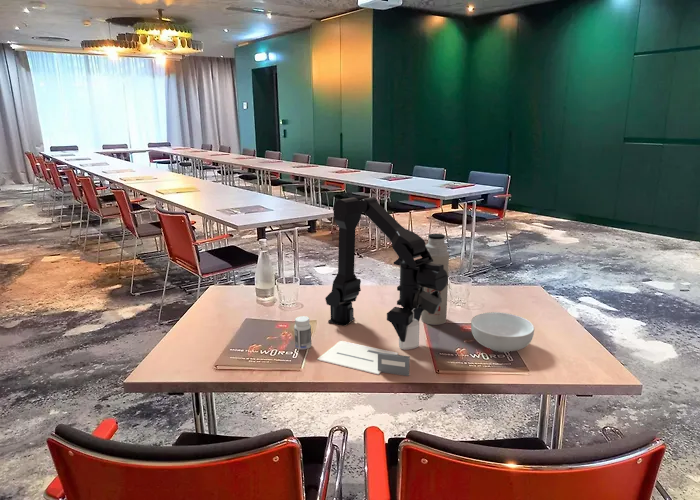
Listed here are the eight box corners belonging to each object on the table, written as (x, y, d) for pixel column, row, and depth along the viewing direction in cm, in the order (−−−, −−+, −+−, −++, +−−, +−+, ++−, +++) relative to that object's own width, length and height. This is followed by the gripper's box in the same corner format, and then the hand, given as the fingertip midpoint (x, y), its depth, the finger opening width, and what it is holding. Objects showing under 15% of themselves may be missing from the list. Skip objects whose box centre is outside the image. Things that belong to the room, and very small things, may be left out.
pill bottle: (314, 343, 144) (313, 316, 142) (307, 350, 140) (306, 322, 138) (299, 341, 146) (298, 314, 144) (292, 348, 141) (290, 320, 139)
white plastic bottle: (418, 350, 139) (419, 310, 136) (398, 349, 140) (399, 309, 137) (418, 344, 144) (420, 304, 141) (399, 343, 144) (399, 303, 141)
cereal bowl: (459, 347, 141) (460, 324, 139) (486, 329, 153) (487, 307, 152) (517, 366, 130) (519, 341, 129) (541, 344, 143) (543, 321, 141)
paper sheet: (317, 360, 135) (317, 358, 134) (340, 341, 146) (340, 340, 146) (378, 374, 126) (378, 373, 126) (398, 353, 138) (398, 352, 138)
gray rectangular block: (377, 371, 128) (377, 353, 127) (378, 370, 129) (378, 352, 128) (408, 376, 126) (409, 358, 124) (409, 374, 126) (409, 356, 125)
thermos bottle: (443, 326, 156) (447, 238, 149) (418, 322, 159) (420, 236, 152) (448, 317, 163) (452, 233, 156) (424, 313, 166) (427, 231, 159)
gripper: (427, 297, 125) (425, 354, 129) (449, 277, 141) (446, 328, 145) (386, 290, 130) (385, 346, 134) (411, 271, 146) (410, 321, 150)
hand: (409, 335), depth 141 cm, fingers open, 9 cm apart
